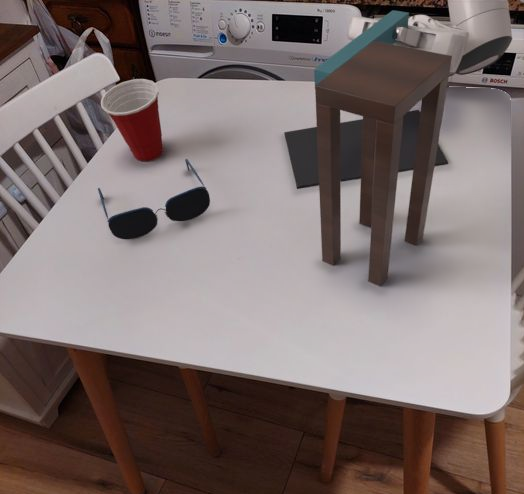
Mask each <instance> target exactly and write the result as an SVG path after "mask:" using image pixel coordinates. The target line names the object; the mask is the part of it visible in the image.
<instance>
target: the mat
mask: <svg viewBox="0 0 524 494" xmlns="http://www.w3.org/2000/svg"><path fill="white" fill-rule="evenodd" d="M420 112H421V111H420V110H419V109H416V110H409V111H408V112H407V113H406V114H405V115H404V116H403V126H402V136H401V146H400V157H399V167H398V173H401V172H406V171H413V169H414V161H415V153H416V145H417V137H418V129H419V120H420ZM362 128H363V118H361V119H355V120H349V121H343V122H342V121H341V122H340V182H346V181H351V180H357V179H361V158H362ZM283 135H284V139H285V141H286V146H287V151H288V156H289V160H290V165H291V168H292V172H293V178H294V182H295V185H296V189H303V188H310V187H315V186H319V169H318V145H317V126H313V127H307V128H301V129H294V130H290V131H284V134H283ZM448 164H449V161H448V159H447V157H446V155H445V153H444V152H443V151H442V148H441V146H440V145H439V144H438V147H437V153H436V160H435V166H434V167H437V166H442V165H444V166H445V165H448Z"/></svg>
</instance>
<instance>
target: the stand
mask: <svg viewBox="0 0 524 494" xmlns="http://www.w3.org/2000/svg"><path fill="white" fill-rule="evenodd" d="M451 59H452V56H449V55H444V54H439V53H434V52H429V51H424V50H419V49H413V48H408V47H403V46H398V45H393V44H388V43H382V42H377V41H373V42H372V43H371V44H369V45H368V46H367V47H365V48H364V49H363V50H361V51H360V52H359V53H357V54H356V55H355V56H354V57H352V58H351V59H350V60H348V61H347V62H346V63H344V64H343V65H342V66H340V67H339V68H338V69H336V70H335V71H334V72H333V73H331V74H330V75H329V76H327V77H326V78H325V79H323V80H322V81H321V82H319V83H318V84H317V85H315V84H314V92H315V93H314V94H315V115H316V117H315V118H316V119H315V120H316V127H317V145H318V169H319V185H318V190H319V191H318V193H319V212H320V213H319V214H320V215H319V216H320V236H321V237H320V241H321V260H322V262H325V263H327V264H328V265H331V266H334V265H335V264H337V262H338V261H339V260H340V259H341V257H342V253H341V251H342V250H341V249H342V247H341V246H342V245H341V244H342V237H341V234H342V233H341V231H342V229H341V222H342V221H341V220H342V219H341V215H342V212H341V211H342V210H341V209H342V208H341V207H342V206H341V203H342V202H341V200H342V199H341V196H342V195H341V191H342V190H341V181H340V123H341V111H343V112H347V113H349V114H354V115H357V116H361V117H362V119H363V128H362V158H361V178H360V189H359V190H360V191H359V193H360V194H359V218H358V219H359V220H358V221H359V222H358V224H360V225H363V226H365V227H368V228H370V242H369V257H368V258H369V260H368V262H369V263H368V279H367V282H370V283H371V284H373V285H376V286H378V287H381V286H382V285H383V284H384V283H385V282H386V281H387V279H388V277H389V268H390V257H391V247H392V239H393V237H392V236H393V226H394V216H395V209H396V208H395V206H396V197H397V187H398V186H397V185H398V176H399V172H398V167H399V157H400V146H401V136H402V126H403V116H404V115H405V114H406V113H407V112H408V111H411V110H412V109H413V108H414V107H415V106H416V105H417V104H418V103H419V102H420V101H421V105H420V111H419V112H420V120H419V129H418V137H417V145H416V153H415V161H414V169H413V170H412V178H411V186H410V192H409V193H410V194H409V203H408V209H407V218H406V226H405V234H404V242H406V243H408V244H411V245H413V246H418V244H419V243H420V242H421V241H422V240H423V239H424V235H425V234H424V233H425V228H426V221H427V215H428V209H429V202H430V196H431V191H432V185H433V177H434V171H435V167H436V166H435V160H436V153H437V147H438V145H439V140H440V134H441V126H442V122H443V116H444V109H445V102H446V96H447V90H448V84H449V78H450V77H449V72H450V66H451Z"/></svg>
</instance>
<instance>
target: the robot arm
mask: <svg viewBox="0 0 524 494" xmlns="http://www.w3.org/2000/svg"><path fill="white" fill-rule="evenodd" d="M446 1H447V6H448V13H449V21H450V25H445V24H443V23H442V22H441V21H439V20H437V19H434V18H432V17H430V16H428V15H426V14H416V15H412V16H409V19H408V29H407V28H404V27H399V26H395V28H394V32H393V35H392V39H395V40H398V41H396V42H395V43H394V44H393V45H398V46H403V47H408V48H413V49H419V50H424V51H429V52H434V53H439V54H444V55H449V56H452V59H451V66H450V72H449V78H450V77H452V76H455V75H459V76H465V75H469V74H472V73H476V72H479V71H482V70H484V69H486V68H489V67H490V66H492V65H494V64H495V63H496V62H497V61H499V60H500V59H501V58H502V56H503V55H504V53H505V52H506V51H508V48H509V47H510V45H511V43H512V41H513V34H512V33H513V32H512V22H511V16H510V9H509V8H510V7H509V1H508V0H446ZM519 2H521V3H523V4H524V0H519ZM379 20H380V19H376V18H371V17H366V16H365V17H364V16H359V15H354V16H352V17H351V19H350V21H349V25H348V27H347V34H346V37H347V40H349V41H352V40H354V39H355V38H356V37H358V36H359V35H360V34H362V33H363V32H364V31H366V30H367V29H368V28H370V27H371V26H372V25H374V24H375V23H376V22H378V21H379Z"/></svg>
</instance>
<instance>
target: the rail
mask: <svg viewBox="0 0 524 494" xmlns="http://www.w3.org/2000/svg"><path fill="white" fill-rule="evenodd" d="M409 18H410V12H406V11H400V10H394V9H392V10H391V11H390V12H389V13H387V14H386V15H384V16H383V17H382V18H381V19H378V20H379V21H378V22H376V23H375V24H374V25H372V26H371V27H370V28H368V29H367V30H366V31H364V32H363V33H362V34H360V35H359V36H358V37H356V38H355V39H354V40H350V42H349V43H347V44H346V45H344V46H343V47H342V48H340V49H338V50H337V51H336V52H335V53H333V54H332V55H331V56H330V57H329V58H327V59H326V60H324V61H323V62H321V63H320V64H319V65H318V66H317V67H315V68H313V73H314V74H313V75H314V86H315V85H317V84H318V83H319V82H321V81H322V80H323V79H325V78H326V77H327V76H329V75H330V74H331V73H333V72H334V71H335V70H336V69H338V68H339V67H340V66H342V65H343V64H344V63H346V62H347V61H348V60H350V59H351V58H352V57H354V56H355V55H356V54H357V53H359V52H360V51H361V50H363V49H364V48H365V47H367V46H368V45H369V44H371V43H372V42H373V41H377V42H382V43H388V44H394V43H395V42H396V41H398V40H395V39H392V35H393V32H394V28H395V26H399V27H404V28H407V29H408V19H409Z"/></svg>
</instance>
